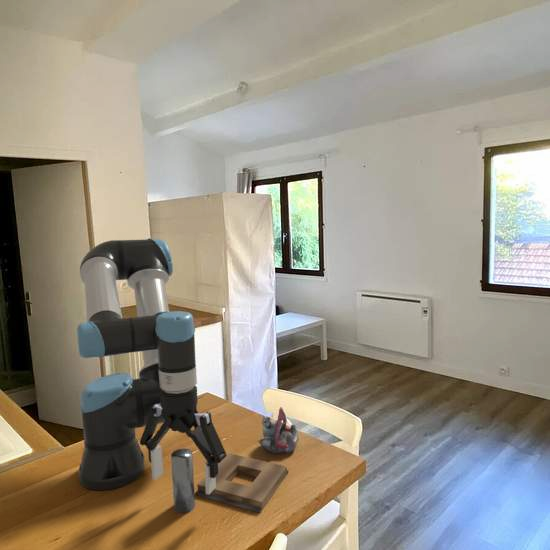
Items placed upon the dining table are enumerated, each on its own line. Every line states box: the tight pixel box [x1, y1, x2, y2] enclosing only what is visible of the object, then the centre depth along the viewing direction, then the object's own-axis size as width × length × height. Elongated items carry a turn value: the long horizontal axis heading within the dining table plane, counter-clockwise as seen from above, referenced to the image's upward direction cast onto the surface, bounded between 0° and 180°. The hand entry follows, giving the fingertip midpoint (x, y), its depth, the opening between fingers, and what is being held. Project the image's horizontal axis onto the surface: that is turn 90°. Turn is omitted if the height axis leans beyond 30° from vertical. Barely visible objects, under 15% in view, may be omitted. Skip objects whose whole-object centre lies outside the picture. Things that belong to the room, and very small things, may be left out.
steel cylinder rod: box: [170, 448, 196, 514], centre depth 92 cm, size 4×4×12 cm
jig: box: [195, 452, 289, 514], centre depth 100 cm, size 16×16×2 cm
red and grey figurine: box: [258, 407, 300, 454], centre depth 116 cm, size 11×11×12 cm
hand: (183, 483), depth 92 cm, fingers open, 13 cm apart
